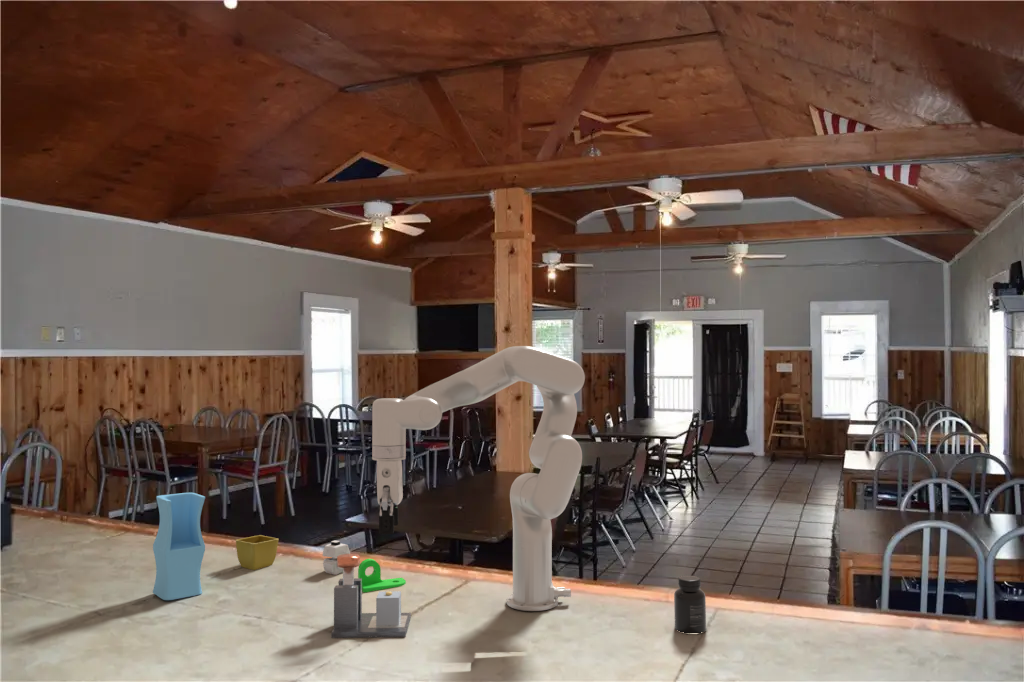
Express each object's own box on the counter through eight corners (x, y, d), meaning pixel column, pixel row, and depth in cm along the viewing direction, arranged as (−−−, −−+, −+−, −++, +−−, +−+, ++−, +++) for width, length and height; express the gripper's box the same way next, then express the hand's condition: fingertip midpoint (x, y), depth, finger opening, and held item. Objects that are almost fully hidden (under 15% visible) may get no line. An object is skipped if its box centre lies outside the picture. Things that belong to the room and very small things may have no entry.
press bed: (410, 617, 185) (410, 574, 185) (405, 636, 172) (405, 590, 172) (341, 618, 184) (342, 575, 184) (331, 638, 171) (331, 591, 171)
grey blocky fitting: (351, 575, 221) (352, 540, 222) (334, 581, 216) (335, 544, 216) (336, 572, 224) (336, 537, 225) (319, 578, 219) (319, 541, 219)
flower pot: (260, 565, 233) (260, 534, 233) (279, 569, 228) (279, 538, 228) (234, 571, 226) (234, 539, 226) (253, 576, 221) (253, 543, 221)
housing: (400, 617, 181) (401, 589, 181) (398, 624, 176) (398, 595, 176) (378, 618, 180) (379, 589, 181) (376, 625, 175) (376, 595, 176)
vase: (164, 601, 198) (166, 500, 198) (152, 592, 205) (153, 496, 206) (204, 593, 204) (205, 496, 205) (191, 585, 211) (192, 492, 212)
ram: (360, 606, 180) (361, 553, 181) (357, 613, 175) (357, 558, 176) (338, 606, 180) (339, 553, 180) (334, 613, 175) (335, 559, 175)
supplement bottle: (707, 629, 177) (707, 575, 177) (704, 639, 170) (704, 583, 171) (676, 626, 179) (676, 572, 179) (672, 635, 173) (672, 580, 173)
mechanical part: (363, 596, 203) (363, 564, 203) (358, 590, 208) (358, 559, 208) (408, 590, 208) (408, 560, 208) (401, 585, 213) (402, 555, 213)
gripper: (401, 457, 171) (401, 537, 170) (409, 448, 188) (408, 521, 187) (367, 457, 170) (366, 538, 170) (377, 448, 188) (377, 522, 187)
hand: (388, 529), depth 179 cm, fingers open, 8 cm apart
